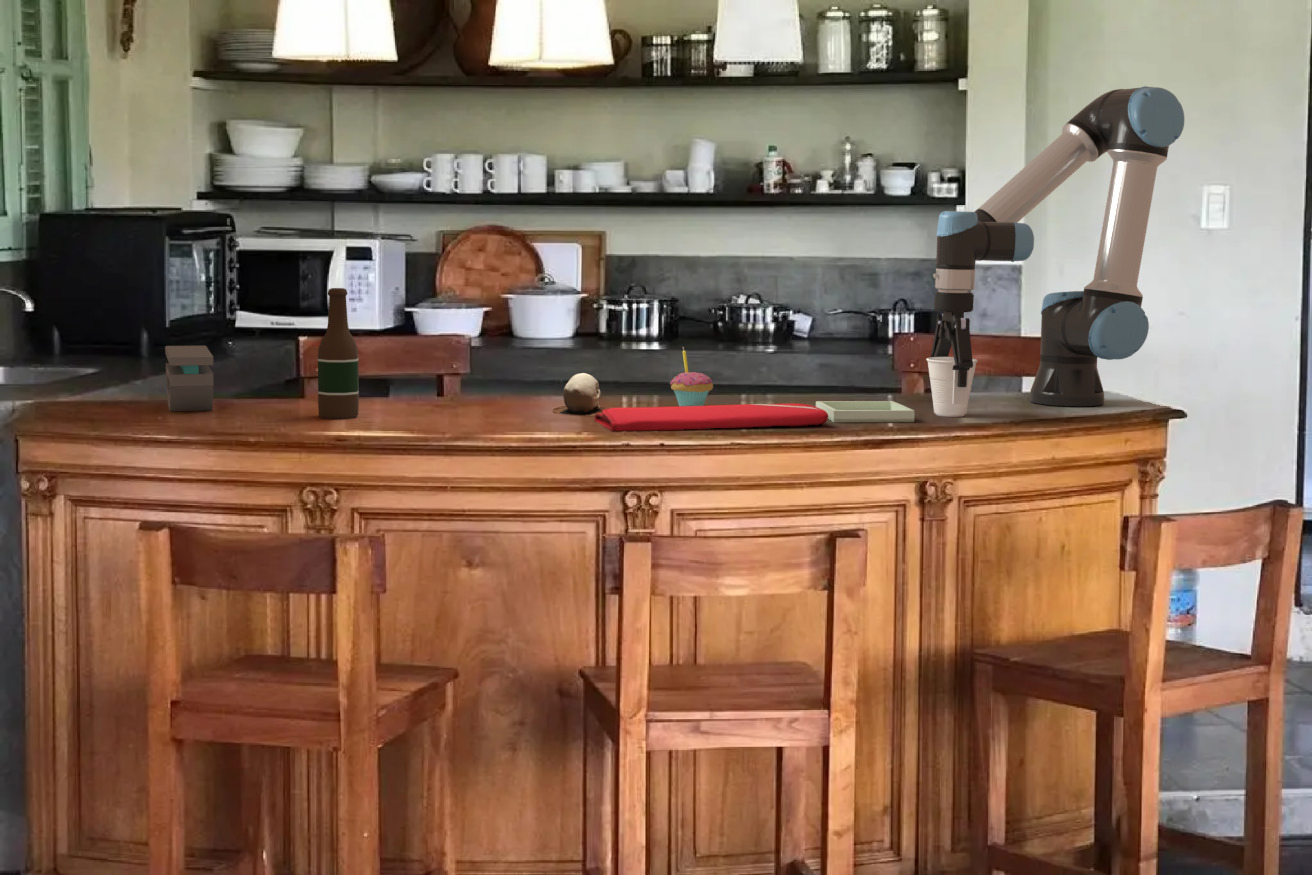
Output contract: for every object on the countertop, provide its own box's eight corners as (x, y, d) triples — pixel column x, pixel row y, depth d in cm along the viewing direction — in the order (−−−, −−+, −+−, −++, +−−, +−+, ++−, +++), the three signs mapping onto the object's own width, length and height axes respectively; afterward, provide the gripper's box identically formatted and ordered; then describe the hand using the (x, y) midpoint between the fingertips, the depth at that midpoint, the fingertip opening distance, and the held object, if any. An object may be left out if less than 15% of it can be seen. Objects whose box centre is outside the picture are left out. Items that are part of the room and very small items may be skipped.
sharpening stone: (214, 414, 350) (213, 356, 348) (171, 415, 348) (170, 357, 346) (206, 399, 374) (205, 345, 372) (166, 400, 371) (165, 346, 370)
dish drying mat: (593, 423, 348) (594, 403, 348) (802, 419, 358) (803, 400, 358) (611, 434, 333) (612, 413, 333) (829, 430, 343) (829, 410, 342)
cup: (974, 419, 359) (976, 362, 357) (922, 417, 361) (924, 360, 359) (976, 413, 368) (978, 357, 367) (926, 411, 370) (927, 356, 369)
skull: (561, 401, 370) (594, 365, 367) (596, 438, 368) (630, 402, 365) (538, 406, 358) (572, 368, 355) (574, 444, 356) (609, 406, 354)
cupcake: (663, 408, 369) (664, 347, 368) (679, 403, 377) (680, 344, 376) (704, 410, 366) (705, 349, 365) (719, 406, 374) (720, 346, 372)
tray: (892, 412, 368) (893, 401, 367) (914, 422, 352) (914, 410, 352) (815, 412, 366) (815, 401, 365) (833, 422, 350) (833, 410, 350)
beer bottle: (367, 415, 351) (366, 288, 348) (347, 420, 344) (346, 290, 341) (330, 413, 354) (329, 286, 350) (309, 418, 346) (308, 288, 343)
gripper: (918, 287, 373) (913, 392, 376) (954, 294, 348) (949, 407, 351) (954, 288, 374) (949, 393, 377) (993, 295, 349) (987, 407, 352)
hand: (949, 400), depth 364 cm, fingers open, 13 cm apart
